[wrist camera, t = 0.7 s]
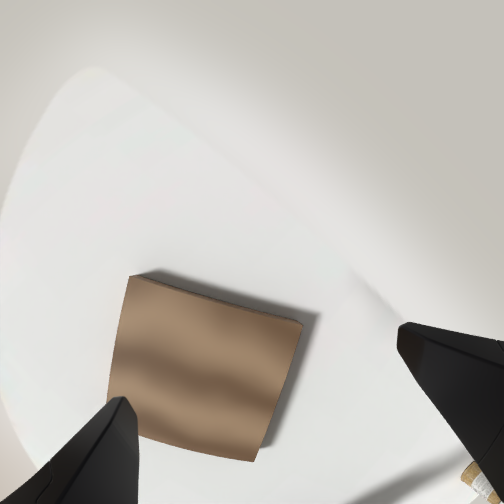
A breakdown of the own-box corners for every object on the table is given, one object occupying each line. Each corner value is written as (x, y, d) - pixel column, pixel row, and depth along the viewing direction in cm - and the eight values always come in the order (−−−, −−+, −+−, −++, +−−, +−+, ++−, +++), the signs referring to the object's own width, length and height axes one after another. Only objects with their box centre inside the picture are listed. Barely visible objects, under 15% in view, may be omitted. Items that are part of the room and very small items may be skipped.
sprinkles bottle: (478, 467, 27) (520, 496, 13) (459, 484, 26) (501, 517, 13) (478, 455, 27) (524, 486, 13) (459, 473, 26) (504, 508, 13)
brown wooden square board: (251, 450, 23) (253, 462, 21) (111, 412, 22) (104, 422, 20) (296, 320, 24) (302, 325, 22) (136, 274, 23) (129, 276, 21)
